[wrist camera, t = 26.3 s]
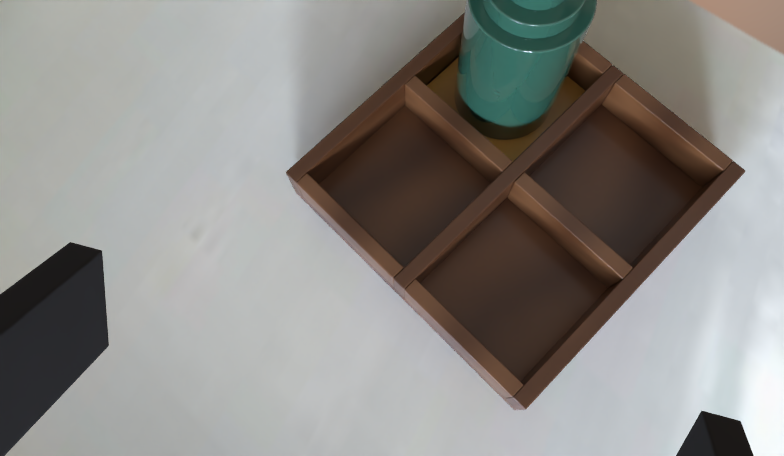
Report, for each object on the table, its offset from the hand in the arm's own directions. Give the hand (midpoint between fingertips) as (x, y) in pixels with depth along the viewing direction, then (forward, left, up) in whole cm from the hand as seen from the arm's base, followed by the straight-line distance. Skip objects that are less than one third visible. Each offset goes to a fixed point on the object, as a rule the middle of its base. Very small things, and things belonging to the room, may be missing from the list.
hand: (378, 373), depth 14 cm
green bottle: (-8, +16, -19) cm, 26 cm away
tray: (-4, +12, -19) cm, 23 cm away
